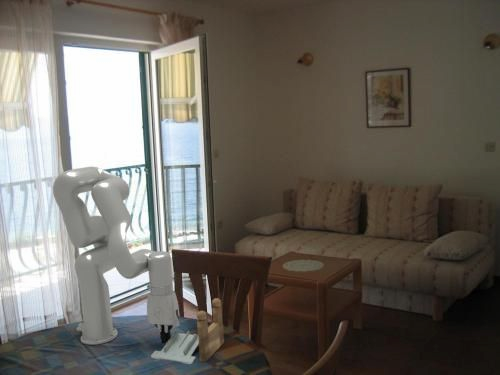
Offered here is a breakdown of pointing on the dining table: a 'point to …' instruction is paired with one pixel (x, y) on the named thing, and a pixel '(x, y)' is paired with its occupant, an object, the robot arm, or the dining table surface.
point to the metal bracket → (178, 348)
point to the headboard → (210, 331)
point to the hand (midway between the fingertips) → (166, 341)
